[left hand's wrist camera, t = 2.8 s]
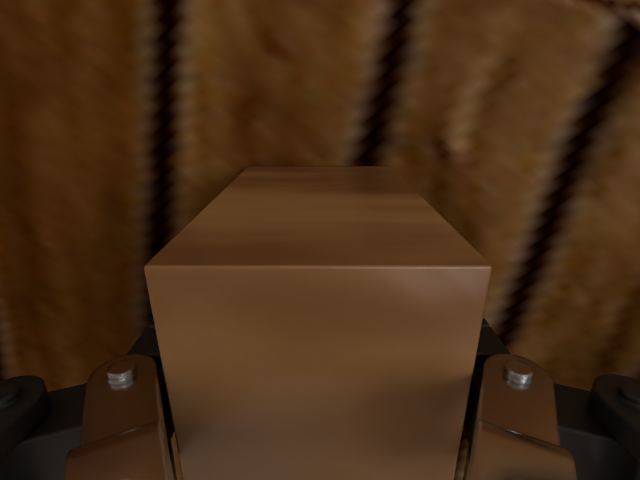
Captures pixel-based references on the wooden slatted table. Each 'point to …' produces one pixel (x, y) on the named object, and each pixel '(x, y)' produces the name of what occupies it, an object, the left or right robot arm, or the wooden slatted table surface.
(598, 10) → the wooden slatted table surface
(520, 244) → the wooden slatted table surface
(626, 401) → the left robot arm
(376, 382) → the box
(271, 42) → the wooden slatted table surface
